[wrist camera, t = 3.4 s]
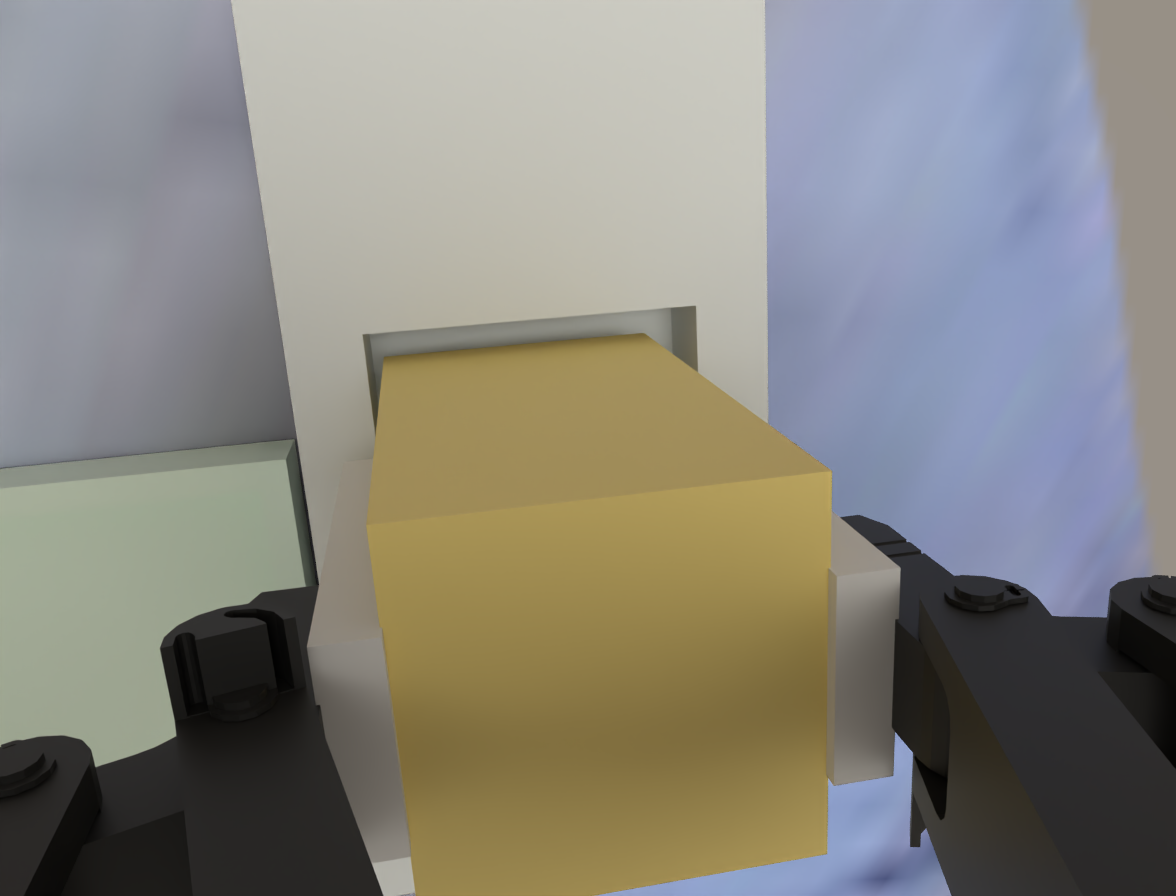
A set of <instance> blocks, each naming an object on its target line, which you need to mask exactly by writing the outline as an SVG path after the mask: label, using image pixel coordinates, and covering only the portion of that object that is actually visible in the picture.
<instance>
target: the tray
mask: <svg viewBox="0 0 1176 896" xmlns="http://www.w3.org/2000/svg"><path fill="white" fill-rule="evenodd" d="M315 585H317V583H316V577H315V570H314V564H313V557H312V551H311V544H310V537H309V531H308V524H307V518H306V511H305V505H304V498H303V491H302V485H301V478H300V472H299V465H298V459H297V452H296V445H295V439H290V440H280V441H270V442H260V443H250V444H240V445H230V446H220V447H211V448H201V449H191V450H181V451H171V452H161V453H151V454H141V455H131V456H121V457H111V458H101V459H91V460H81V461H71V462H61V463H51V464H41V465H31V466H21V467H11V468H2V469H0V747H1V745H2V744H5V743H8V742H11V741H14V740H26V739H30V738H34V737H39V736H59V735H65V736H69V737H73V738H77V739H81V740H83V741H84V742H85V743H86V744H87V746H88V747H89V748H90V749H91V751H92V755H93V759H94V763H95V767H97V766H101V765H104V764H107V763H110V762H113V761H116V760H120V759H123V758H126V757H129V756H132V755H135V754H138V753H141V752H143V751H146V750H149V749H151V748H154V747H156V746H158V745H160V744H162V743H164V742H166V741H168V740H170V739H172V738H174V737H175V736H176V729H175V720H174V715H173V710H172V706H171V701H170V696H169V691H168V686H167V681H166V677H165V672H164V667H163V662H162V657H161V652H160V646H161V644H162V641H163V638H164V636H166V635H167V634H168V633H169V632H170V631H172V630H173V629H174V628H175V627H176V626H177V625H179V624H181V623H183V622H185V621H187V620H189V619H191V618H193V617H195V616H197V615H200V614H203V613H206V612H210V611H213V610H216V609H220V608H223V607H229V606H236V605H243V604H248V603H250V602H251V601H252V600H253V599H254V598H255V597H257V596H258V595H259V594H260V593H261V592H267V591H275V590H283V589H291V588H299V587H307V586H315Z"/></svg>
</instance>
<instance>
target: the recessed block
mask: <svg viewBox="0 0 1176 896" xmlns="http://www.w3.org/2000/svg"><path fill="white" fill-rule="evenodd" d="M231 4H232V11H233V18H234V24H235V31H236V38H237V44H238V51H239V57H240V64H241V71H242V77H243V84H244V90H245V97H246V104H247V110H248V117H249V123H250V130H251V137H252V143H253V150H254V156H255V163H256V170H257V176H258V183H259V190H260V196H261V203H262V209H263V216H264V223H265V229H266V236H267V242H268V249H269V256H270V262H271V269H272V275H273V282H274V289H275V295H276V302H277V309H278V315H279V322H280V328H281V335H282V342H283V348H284V355H285V361H286V368H287V375H288V381H289V388H290V394H291V401H292V408H293V414H294V421H295V427H296V434H297V441H298V447H299V454H300V461H301V467H302V474H303V480H304V487H305V494H306V500H307V507H308V513H309V520H310V527H311V533H312V540H313V546H314V553H315V560H316V566H317V573H318V580H319V584H320V578H321V573H322V568H323V563H324V558H325V553H326V548H327V543H328V538H329V533H330V528H331V523H332V518H333V513H334V508H335V503H336V498H337V493H338V488H339V483H340V478H341V473H342V468H343V463H344V462H346V461H355V460H364V459H373V455H374V446H375V436H376V427H377V417H378V408H379V398H380V389H381V379H382V370H383V360H384V357H387V356H398V355H409V354H420V353H430V352H441V351H452V350H463V349H474V348H485V347H496V346H507V345H517V344H528V343H539V342H550V341H561V340H572V339H583V338H593V337H604V336H615V335H626V334H637V333H645V334H646V335H648V336H649V337H650V338H652V339H653V340H654V341H656V342H657V343H659V344H660V345H661V346H663V347H664V348H665V349H667V350H668V351H669V352H671V353H672V354H673V355H675V356H676V357H678V358H679V359H680V360H682V361H683V362H684V363H686V364H687V365H688V366H690V367H691V368H693V369H694V370H695V371H697V372H698V373H699V374H701V375H702V376H703V377H705V378H706V379H707V380H709V381H710V382H712V383H713V384H714V385H716V386H717V387H718V388H720V389H721V390H722V391H724V392H725V393H727V394H728V395H729V396H731V397H732V398H733V399H735V400H736V401H737V402H739V403H740V404H741V405H743V406H744V407H746V408H747V409H748V410H750V411H751V412H752V413H754V414H755V415H756V416H758V417H759V418H761V419H762V420H763V421H765V422H766V423H767V424H768V332H767V205H766V77H765V0H231ZM372 866H373V868H374V871H375V874H376V876H377V879H378V882H379V885H380V887H381V890H382V893H383V895H384V896H399V895H405V894H411V893H415V887H414V880H413V872H412V865H411V857H407V858H401V859H395V860H389V861H383V862H377V863H372Z"/></svg>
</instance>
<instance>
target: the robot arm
mask: <svg viewBox="0 0 1176 896" xmlns="http://www.w3.org/2000/svg"><path fill="white" fill-rule="evenodd" d="M372 465H373V459H364V460H355V461H346V462H344V463H343V468H342V473H341V478H340V483H339V488H338V493H337V498H336V503H335V508H334V513H333V518H332V523H331V528H330V533H329V538H328V543H327V548H326V553H325V558H324V563H323V568H322V573H321V578H320V584H319V585H315V586H307V587H299V588H291V589H283V590H275V591H267V592H261V593H260V594H259V595H258V596H257V597H255V598H254V599H253V600H252V601H251V602H250V603H248V604H243V605H236V606H229V607H223V608H220V609H216V610H213V611H210V612H206V613H203V614H200V615H197V616H195V617H193V618H191V619H189V620H187V621H185V622H183V623H181V624H179V625H177V626H176V627H175V628H174V629H173V630H172V631H170V632H169V633H168V634H167V635H166V636H164V638H163V641H162V644H161V646H160V652H161V657H162V662H163V667H164V672H165V677H166V681H167V686H168V691H169V696H170V701H171V706H172V710H173V715H174V720H175V729H176V736H175V737H174V738H172V739H170V740H168V741H166V742H164V743H162V744H160V745H158V746H156V747H154V748H151V749H149V750H146V751H143V752H141V753H138V754H135V755H132V756H129V757H126V758H123V759H120V760H116V761H113V762H110V763H107V764H104V765H101V766H97V767H95V763H94V759H93V755H92V751H91V749H90V748H89V747H88V746H87V744H86V743H85V742H84V741H83V740H81V739H77V738H73V737H69V736H65V735H59V736H39V737H34V738H30V739H26V740H14V741H11V742H8V743H5V744H2V745H1V747H0V896H384V895H383V893H382V890H381V887H380V885H379V882H378V879H377V876H376V874H375V871H374V868H373V866H372V863H377V862H383V861H389V860H395V859H401V858H407V857H411V841H410V833H409V826H408V818H407V811H406V803H405V796H404V788H403V781H402V773H401V766H400V758H399V751H398V743H397V735H396V728H395V720H394V713H393V705H392V698H391V690H390V683H389V675H388V668H387V660H386V653H385V645H384V638H383V630H382V628H380V626H379V618H378V611H377V603H376V596H375V588H374V581H373V573H372V566H371V558H370V551H369V543H368V536H367V528H366V522H367V512H368V503H369V493H370V484H371V474H372ZM895 732H896V733H897V734H898V736H899V737H900V738H901V739H902V740H903V741H904V743H905V744H906V745H907V746H908V747H909V748H910V750H911V751H912V752H913V770H912V794H911V818H910V847H920V839H921V833H922V832H923V831H924V830H925V829H927V831H928V834H929V837H930V839H931V842H932V845H933V847H934V850H935V853H936V855H937V858H938V861H939V863H940V866H941V869H942V871H943V874H944V877H945V879H946V882H947V885H948V887H949V890H950V893H951V895H952V896H1176V577H1174V576H1171V578H1169V577H1168V576H1163V575H1154V576H1152V577H1145V578H1133V579H1129V580H1125V581H1121V582H1118V583H1117V584H1116V585H1115V586H1113V587H1112V588H1111V589H1110V595H1109V604H1108V614H1107V618H1100V617H1059V616H1052V615H1051V614H1050V613H1049V612H1048V610H1047V609H1046V608H1045V607H1044V605H1043V604H1042V603H1041V602H1040V600H1039V599H1038V598H1037V597H1036V596H1035V595H1033V594H1032V593H1031V592H1029V591H1028V590H1027V589H1026V588H1023V587H1021V586H1019V585H1017V584H1014V583H1011V582H1008V581H1005V580H1000V579H995V578H990V577H986V576H969V575H960V576H954V575H952V574H951V573H950V572H948V571H947V570H946V569H944V568H943V567H942V566H940V565H939V564H938V563H937V562H935V561H934V560H933V559H931V558H930V557H929V556H927V555H926V554H925V553H924V554H921V550H920V549H918V548H917V547H916V546H914V545H913V544H912V543H910V542H906V539H905V538H904V537H902V536H901V535H900V534H899V533H897V532H896V531H895V530H893V529H892V528H891V527H889V526H888V525H885V524H883V523H880V522H877V521H874V520H872V519H869V518H866V517H863V516H861V515H854V516H846V517H839V516H838V515H836V514H835V513H834V512H833V511H831V568H829V576H828V660H827V745H826V775H827V777H828V778H829V779H830V781H831V782H832V784H833V785H834V786H836V785H842V784H848V783H854V782H860V781H866V780H872V779H878V778H884V777H890V776H893V771H894V742H895Z"/></svg>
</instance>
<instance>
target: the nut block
mask: <svg viewBox="0 0 1176 896" xmlns="http://www.w3.org/2000/svg"><path fill="white" fill-rule="evenodd" d="M831 511H832V471H831V470H830V469H829V468H827V467H826V466H824V465H823V464H822V463H820V462H819V461H818V460H816V459H815V458H814V457H812V456H811V455H810V454H808V453H807V452H805V451H804V450H803V449H801V448H800V447H799V446H797V445H796V444H795V443H793V442H792V441H790V440H789V439H788V438H786V437H785V436H784V435H782V434H781V433H780V432H778V431H777V430H775V429H774V428H773V427H771V426H770V425H769V424H767V423H766V422H765V421H763V420H762V419H761V418H759V417H758V416H756V415H755V414H754V413H752V412H751V411H750V410H748V409H747V408H746V407H744V406H743V405H741V404H740V403H739V402H737V401H736V400H735V399H733V398H732V397H731V396H729V395H728V394H727V393H725V392H724V391H722V390H721V389H720V388H718V387H717V386H716V385H714V384H713V383H712V382H710V381H709V380H707V379H706V378H705V377H703V376H702V375H701V374H699V373H698V372H697V371H695V370H694V369H693V368H691V367H690V366H688V365H687V364H686V363H684V362H683V361H682V360H680V359H679V358H678V357H676V356H675V355H673V354H672V353H671V352H669V351H668V350H667V349H665V348H664V347H663V346H661V345H660V344H659V343H657V342H656V341H654V340H653V339H652V338H650V337H649V336H648V335H646V334H645V333H637V334H626V335H615V336H604V337H593V338H583V339H572V340H561V341H550V342H539V343H528V344H517V345H507V346H496V347H485V348H474V349H463V350H452V351H441V352H430V353H420V354H409V355H398V356H387V357H384V360H383V370H382V379H381V389H380V398H379V408H378V417H377V427H376V436H375V446H374V455H373V465H372V474H371V484H370V493H369V503H368V512H367V522H366V528H367V536H368V543H369V551H370V558H371V566H372V573H373V581H374V588H375V596H376V603H377V611H378V618H379V626H380V628H382V630H383V638H384V645H385V653H386V660H387V668H388V675H389V683H390V690H391V698H392V705H393V713H394V720H395V728H396V735H397V743H398V751H399V758H400V766H401V773H402V781H403V788H404V796H405V803H406V811H407V818H408V826H409V833H410V841H411V865H412V872H413V880H414V887H415V895H416V896H594V895H600V894H606V893H611V892H617V891H622V890H628V889H634V888H639V887H645V886H651V885H656V884H662V883H667V882H673V881H679V880H684V879H690V878H695V877H701V876H707V875H712V874H718V873H724V872H729V871H735V870H740V869H746V868H752V867H757V866H763V865H768V864H774V863H780V862H785V861H791V860H797V859H802V858H808V857H813V856H819V855H825V854H827V826H828V777H827V775H826V745H827V660H828V576H829V568H831Z"/></svg>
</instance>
